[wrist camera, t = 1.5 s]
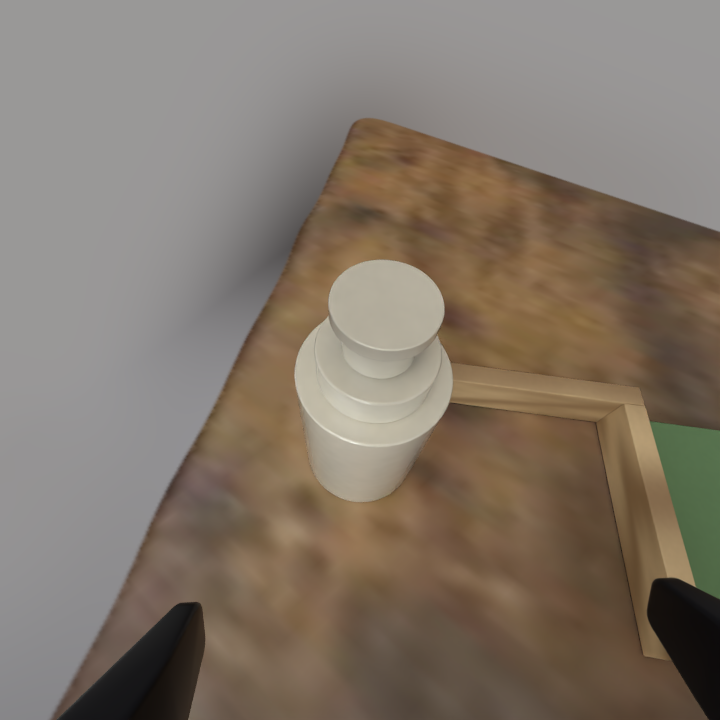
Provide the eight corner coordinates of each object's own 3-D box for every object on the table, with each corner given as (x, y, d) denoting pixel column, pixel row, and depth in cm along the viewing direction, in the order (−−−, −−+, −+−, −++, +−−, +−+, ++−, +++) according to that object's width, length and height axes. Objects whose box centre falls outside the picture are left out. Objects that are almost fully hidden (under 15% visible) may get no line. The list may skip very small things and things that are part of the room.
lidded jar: (409, 509, 21) (496, 409, 10) (298, 494, 21) (258, 377, 10) (415, 407, 24) (484, 243, 13) (317, 394, 24) (304, 219, 13)
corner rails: (668, 659, 18) (719, 668, 16) (425, 624, 18) (439, 628, 16) (610, 407, 25) (640, 387, 22) (432, 383, 25) (442, 360, 23)
